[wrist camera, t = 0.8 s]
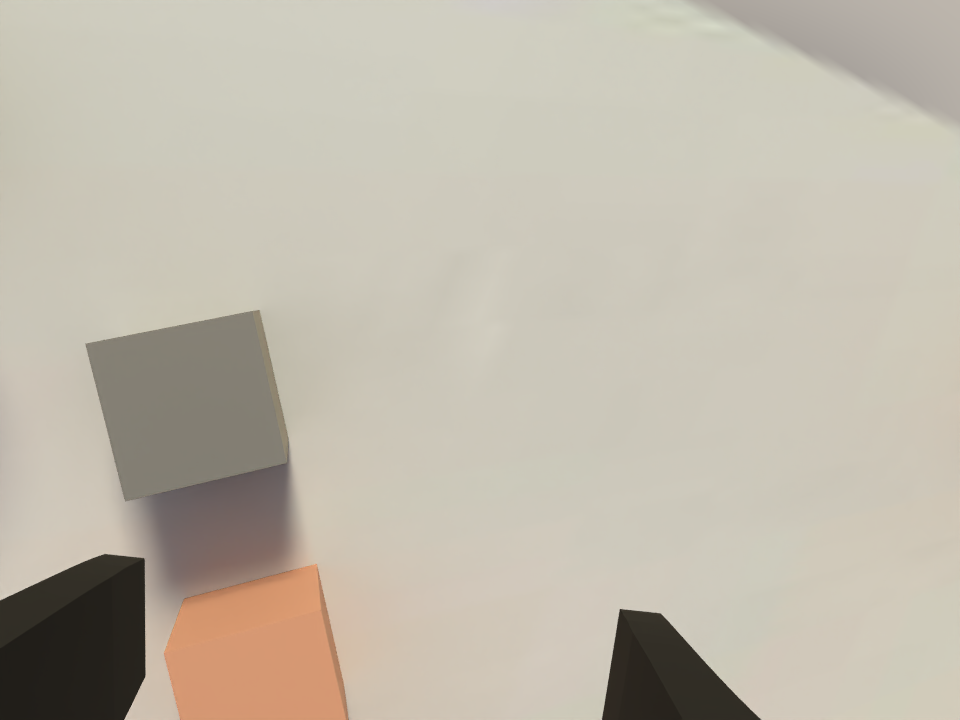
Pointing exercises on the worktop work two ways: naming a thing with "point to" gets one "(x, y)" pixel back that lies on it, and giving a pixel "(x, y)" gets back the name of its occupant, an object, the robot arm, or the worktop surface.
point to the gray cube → (189, 403)
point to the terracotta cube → (257, 652)
